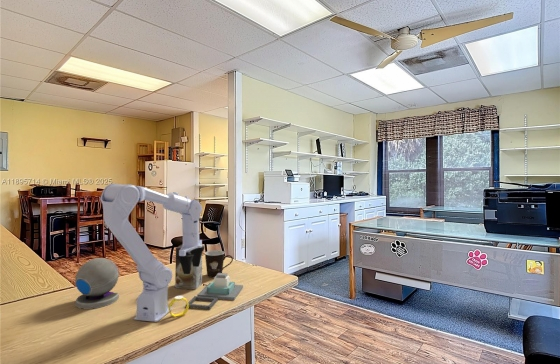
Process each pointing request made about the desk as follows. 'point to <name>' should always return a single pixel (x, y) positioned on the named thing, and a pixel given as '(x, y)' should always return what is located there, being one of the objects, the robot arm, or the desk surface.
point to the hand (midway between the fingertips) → (191, 269)
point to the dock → (221, 291)
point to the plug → (222, 280)
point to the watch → (178, 298)
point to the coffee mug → (215, 262)
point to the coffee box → (187, 275)
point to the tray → (202, 300)
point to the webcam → (96, 283)
